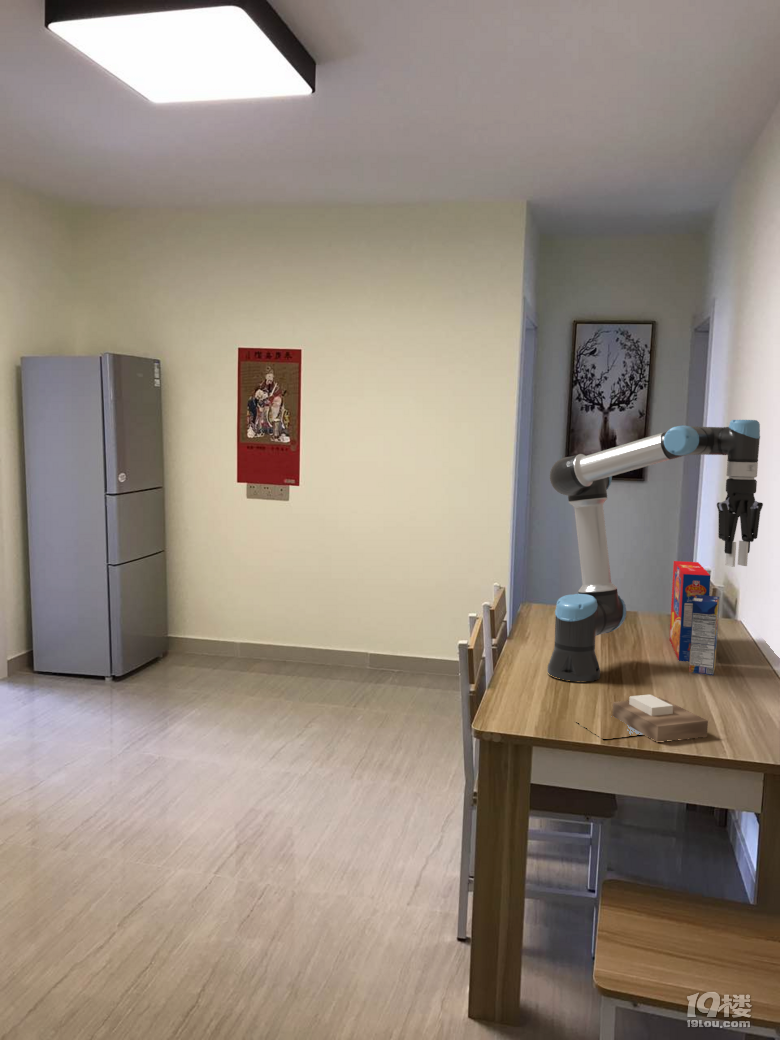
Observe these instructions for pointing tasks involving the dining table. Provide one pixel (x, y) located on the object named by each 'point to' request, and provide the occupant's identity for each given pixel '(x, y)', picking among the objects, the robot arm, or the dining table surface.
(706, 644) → the beverage box
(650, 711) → the white rectangular block
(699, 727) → the brown wooden slab
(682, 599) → the red blue cereal box
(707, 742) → the dining table surface
